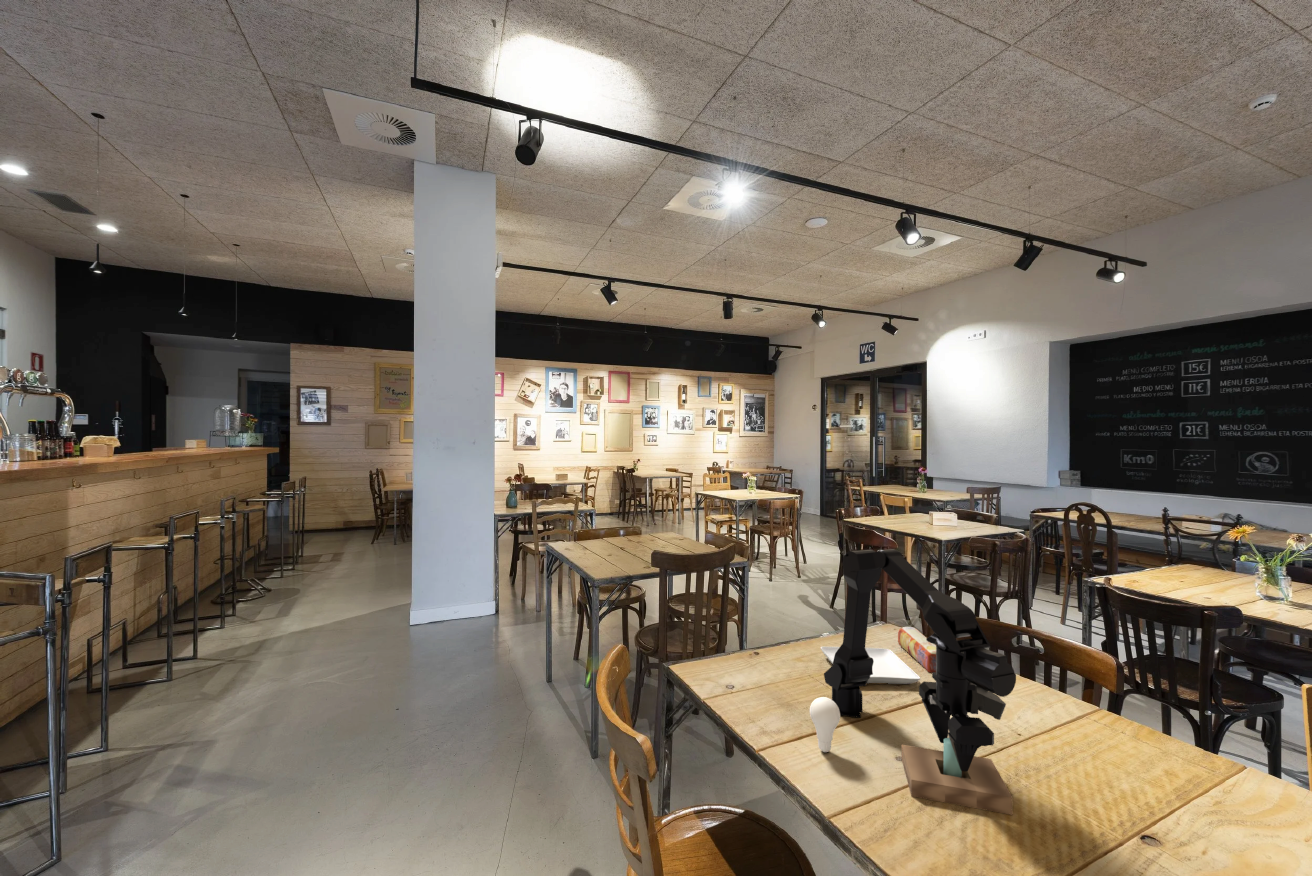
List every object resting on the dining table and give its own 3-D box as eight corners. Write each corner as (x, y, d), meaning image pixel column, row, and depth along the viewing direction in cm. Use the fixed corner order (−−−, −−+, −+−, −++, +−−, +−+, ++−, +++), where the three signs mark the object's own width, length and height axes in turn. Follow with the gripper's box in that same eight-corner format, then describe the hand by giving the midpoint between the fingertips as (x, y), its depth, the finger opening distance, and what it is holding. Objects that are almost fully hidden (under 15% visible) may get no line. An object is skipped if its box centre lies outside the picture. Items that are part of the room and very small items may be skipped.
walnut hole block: (911, 796, 97) (911, 779, 97) (901, 759, 108) (901, 744, 108) (1012, 814, 92) (1012, 797, 92) (991, 774, 103) (991, 758, 104)
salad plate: (922, 690, 140) (922, 677, 140) (842, 688, 141) (842, 675, 141) (888, 658, 162) (889, 647, 162) (818, 657, 162) (819, 645, 162)
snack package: (950, 675, 150) (950, 651, 150) (926, 674, 150) (926, 650, 150) (917, 647, 171) (917, 625, 171) (896, 646, 171) (896, 625, 171)
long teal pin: (945, 788, 99) (945, 745, 99) (941, 778, 102) (941, 736, 102) (963, 791, 98) (963, 747, 98) (959, 781, 101) (959, 739, 101)
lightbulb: (840, 746, 113) (840, 694, 113) (840, 762, 107) (840, 707, 107) (810, 741, 115) (810, 689, 115) (808, 756, 109) (808, 702, 109)
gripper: (1027, 699, 90) (1027, 792, 90) (975, 656, 109) (975, 733, 108) (957, 694, 92) (957, 786, 91) (917, 653, 110) (917, 729, 110)
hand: (953, 756), depth 100 cm, fingers open, 9 cm apart
